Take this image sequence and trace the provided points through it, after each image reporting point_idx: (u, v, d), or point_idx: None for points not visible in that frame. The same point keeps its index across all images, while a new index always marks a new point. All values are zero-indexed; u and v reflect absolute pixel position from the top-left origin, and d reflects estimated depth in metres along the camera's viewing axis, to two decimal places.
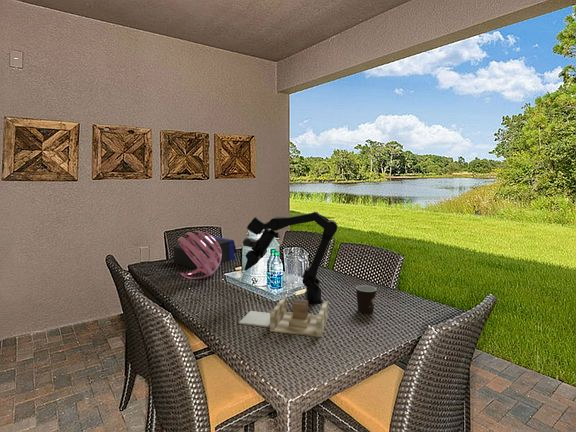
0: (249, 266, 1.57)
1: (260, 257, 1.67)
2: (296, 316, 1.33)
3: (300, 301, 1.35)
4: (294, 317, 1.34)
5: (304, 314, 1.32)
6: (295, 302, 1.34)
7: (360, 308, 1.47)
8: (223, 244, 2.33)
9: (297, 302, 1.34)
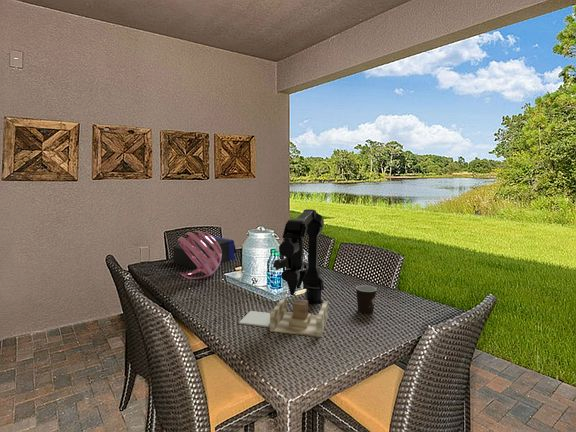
0: (293, 288, 1.29)
1: (303, 274, 1.39)
2: (296, 316, 1.33)
3: (300, 301, 1.35)
4: (294, 317, 1.34)
5: (304, 314, 1.32)
6: (295, 302, 1.34)
7: (360, 308, 1.47)
8: (223, 244, 2.33)
9: (297, 302, 1.34)
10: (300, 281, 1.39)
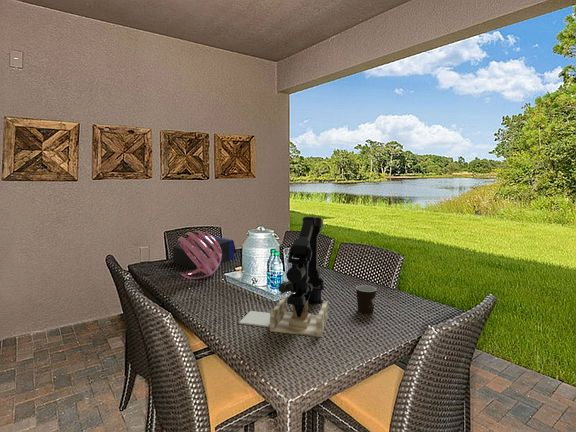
0: (300, 310, 1.31)
1: (307, 297, 1.37)
2: (296, 316, 1.33)
3: None
4: (294, 317, 1.34)
5: (304, 314, 1.32)
6: None
7: (360, 308, 1.47)
8: (223, 244, 2.32)
9: None
10: None
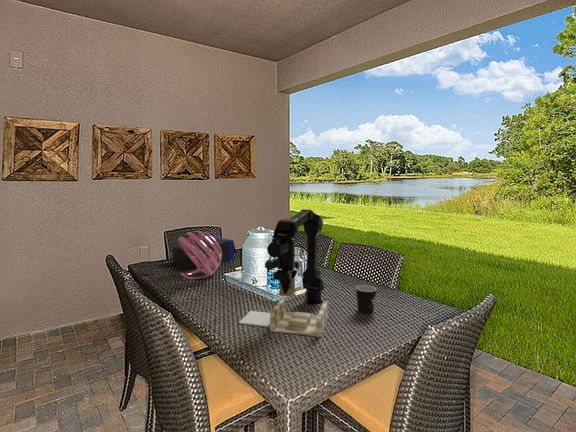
0: (286, 286, 1.32)
1: (294, 274, 1.38)
2: (283, 293, 1.33)
3: None
4: (281, 294, 1.34)
5: (291, 290, 1.33)
6: None
7: (360, 308, 1.47)
8: (222, 244, 2.32)
9: None
10: None
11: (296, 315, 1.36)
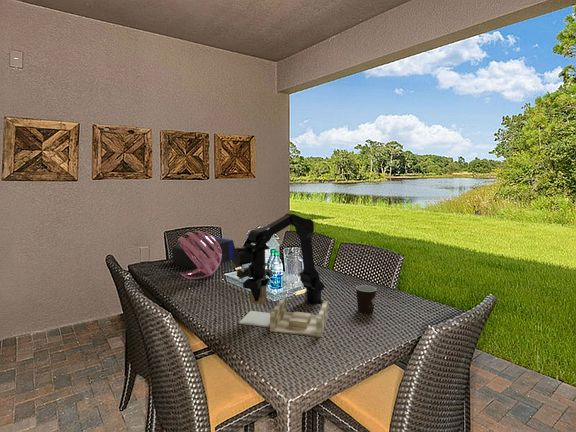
0: (257, 295, 1.35)
1: (266, 283, 1.41)
2: (254, 300, 1.37)
3: None
4: (252, 301, 1.38)
5: (261, 298, 1.37)
6: None
7: (360, 308, 1.47)
8: (222, 244, 2.32)
9: None
10: None
11: (296, 315, 1.36)
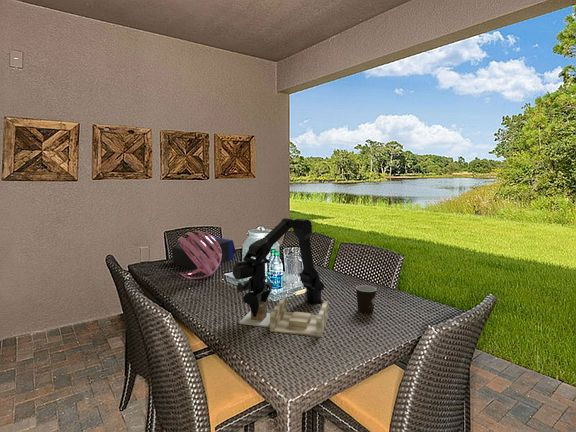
0: (255, 310, 1.34)
1: (267, 294, 1.44)
2: (254, 317, 1.38)
3: None
4: (252, 318, 1.38)
5: (261, 315, 1.37)
6: None
7: (360, 308, 1.47)
8: (222, 244, 2.32)
9: None
10: (264, 301, 1.44)
11: (296, 315, 1.36)
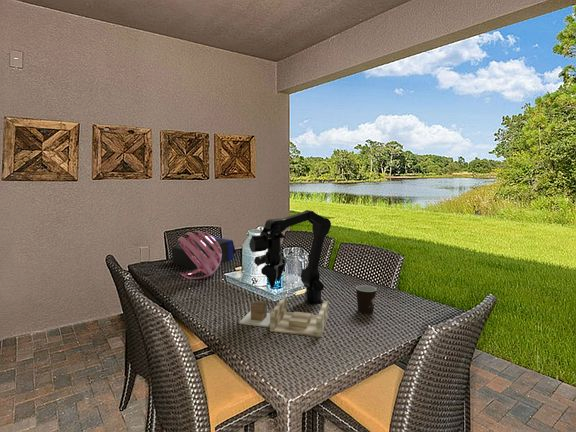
0: (273, 281, 1.43)
1: (282, 268, 1.53)
2: (254, 317, 1.38)
3: (259, 303, 1.40)
4: (252, 318, 1.38)
5: (261, 315, 1.37)
6: (253, 304, 1.39)
7: (360, 308, 1.47)
8: (222, 244, 2.32)
9: (255, 304, 1.39)
10: (280, 274, 1.53)
11: (296, 315, 1.36)
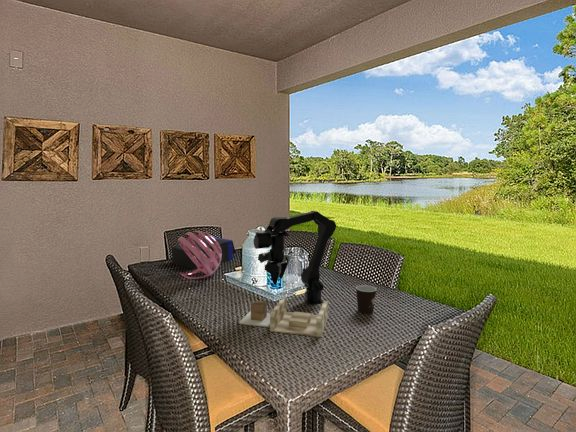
0: (276, 278, 1.45)
1: (285, 265, 1.55)
2: (254, 317, 1.38)
3: (259, 303, 1.40)
4: (252, 318, 1.38)
5: (261, 315, 1.37)
6: (253, 304, 1.39)
7: (360, 308, 1.47)
8: (222, 244, 2.32)
9: (255, 304, 1.39)
10: (282, 272, 1.55)
11: (296, 315, 1.36)
